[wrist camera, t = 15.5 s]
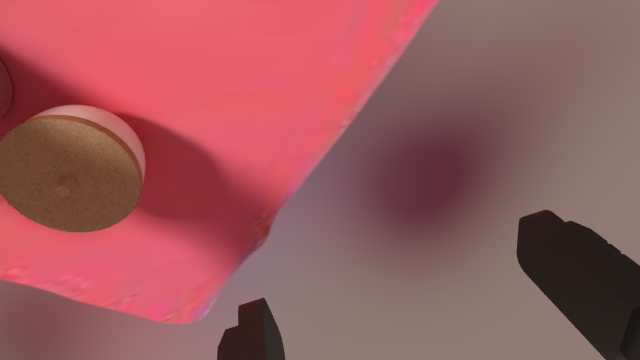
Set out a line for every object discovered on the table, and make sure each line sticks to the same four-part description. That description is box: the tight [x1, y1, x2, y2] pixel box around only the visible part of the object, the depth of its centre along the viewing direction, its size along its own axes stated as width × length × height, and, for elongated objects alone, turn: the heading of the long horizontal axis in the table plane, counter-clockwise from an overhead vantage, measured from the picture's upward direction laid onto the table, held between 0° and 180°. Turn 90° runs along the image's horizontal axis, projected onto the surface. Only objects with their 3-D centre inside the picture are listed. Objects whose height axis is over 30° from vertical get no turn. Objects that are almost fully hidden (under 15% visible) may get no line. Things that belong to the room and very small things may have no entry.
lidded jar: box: [0, 105, 146, 232], centre depth 34 cm, size 11×11×9 cm
